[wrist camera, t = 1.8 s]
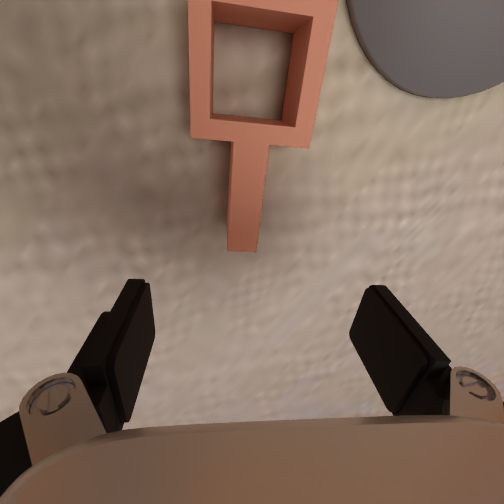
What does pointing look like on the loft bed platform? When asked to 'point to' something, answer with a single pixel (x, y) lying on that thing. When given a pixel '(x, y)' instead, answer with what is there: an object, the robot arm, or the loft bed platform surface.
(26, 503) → the robot arm
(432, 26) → the post base
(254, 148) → the orange square loop
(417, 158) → the loft bed platform surface
